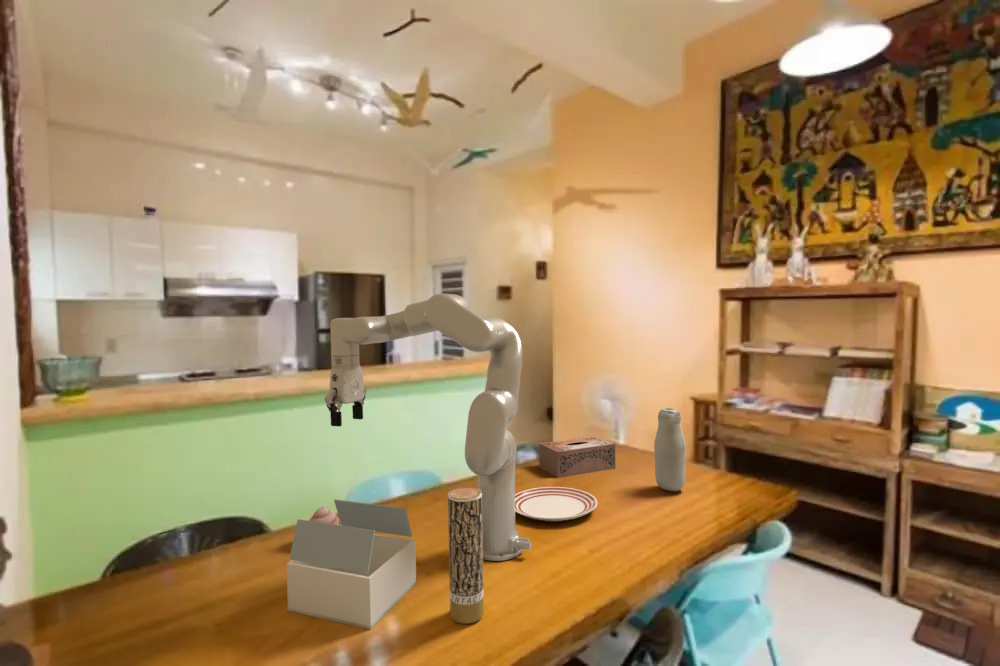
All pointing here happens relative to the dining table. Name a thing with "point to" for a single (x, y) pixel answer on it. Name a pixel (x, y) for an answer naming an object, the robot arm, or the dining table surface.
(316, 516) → the cupcake
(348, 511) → the flap far
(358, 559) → the flap near
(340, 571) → the carton
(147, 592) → the dining table surface
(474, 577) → the paper tube
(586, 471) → the tissue box cover
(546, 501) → the dinner plate
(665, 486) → the glass bottle
